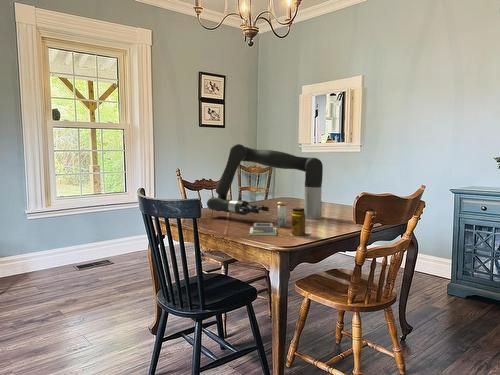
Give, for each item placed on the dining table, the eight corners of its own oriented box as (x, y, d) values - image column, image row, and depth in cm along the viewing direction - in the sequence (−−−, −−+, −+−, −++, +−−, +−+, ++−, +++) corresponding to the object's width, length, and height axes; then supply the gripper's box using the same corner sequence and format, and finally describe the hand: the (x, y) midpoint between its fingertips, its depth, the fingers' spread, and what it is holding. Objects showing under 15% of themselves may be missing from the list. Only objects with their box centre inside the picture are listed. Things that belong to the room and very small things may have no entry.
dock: (276, 229, 179) (276, 222, 179) (276, 235, 167) (276, 227, 167) (250, 229, 180) (250, 222, 179) (249, 235, 168) (249, 227, 168)
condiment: (287, 235, 169) (287, 208, 167) (297, 232, 175) (298, 206, 174) (301, 237, 164) (301, 210, 163) (311, 234, 170) (312, 207, 169)
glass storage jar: (286, 225, 189) (286, 201, 188) (286, 227, 185) (287, 203, 183) (276, 225, 190) (277, 201, 188) (277, 227, 185) (277, 202, 184)
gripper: (230, 201, 197) (255, 204, 187) (247, 198, 208) (271, 201, 198) (230, 216, 198) (255, 219, 188) (247, 212, 209) (271, 215, 199)
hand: (263, 210), depth 193 cm, fingers open, 8 cm apart
